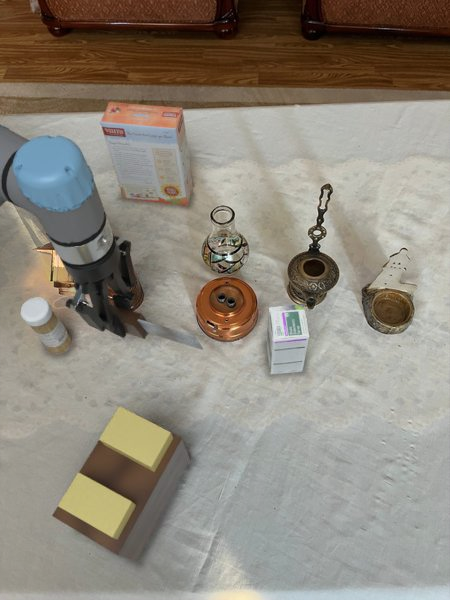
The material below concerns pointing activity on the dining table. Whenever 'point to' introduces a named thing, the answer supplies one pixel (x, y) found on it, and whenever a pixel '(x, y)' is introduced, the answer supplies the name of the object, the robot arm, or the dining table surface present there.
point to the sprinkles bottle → (46, 324)
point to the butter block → (136, 438)
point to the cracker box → (149, 152)
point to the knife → (151, 328)
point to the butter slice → (97, 505)
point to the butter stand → (131, 494)
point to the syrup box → (287, 338)
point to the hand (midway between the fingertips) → (123, 325)
